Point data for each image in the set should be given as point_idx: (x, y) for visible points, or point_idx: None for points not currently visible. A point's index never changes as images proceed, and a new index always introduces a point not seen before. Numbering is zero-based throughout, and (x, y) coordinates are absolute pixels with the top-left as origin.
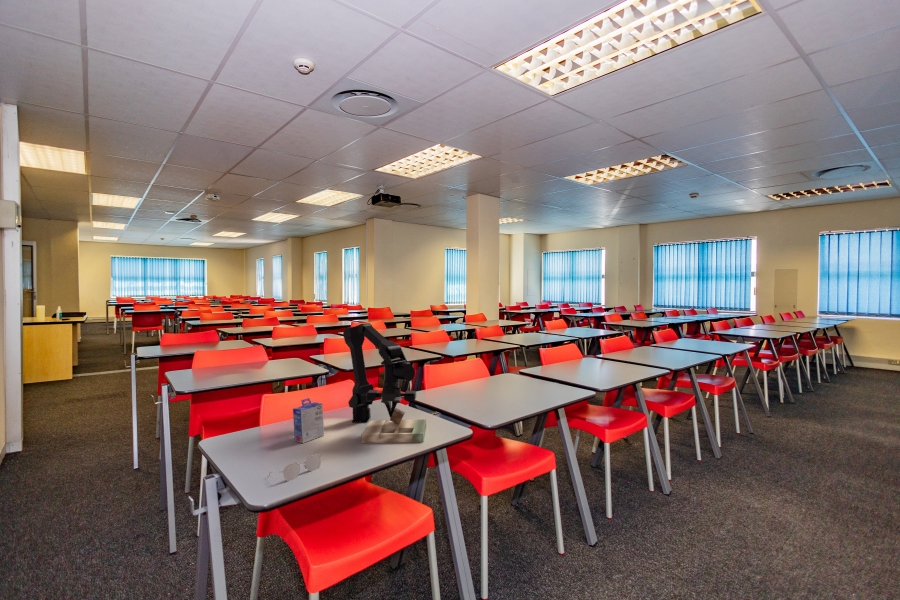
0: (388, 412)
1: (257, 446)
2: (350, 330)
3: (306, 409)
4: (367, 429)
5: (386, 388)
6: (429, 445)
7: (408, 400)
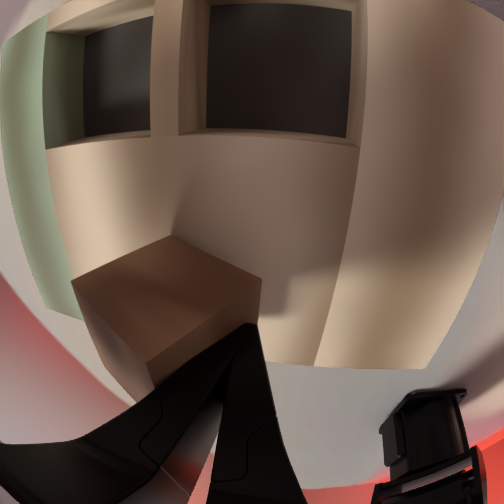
0: (265, 378)
1: None
2: None
3: None
4: (494, 153)
5: None
6: (26, 11)
7: None
